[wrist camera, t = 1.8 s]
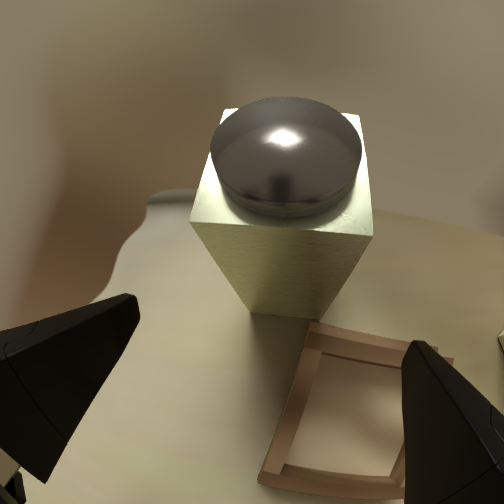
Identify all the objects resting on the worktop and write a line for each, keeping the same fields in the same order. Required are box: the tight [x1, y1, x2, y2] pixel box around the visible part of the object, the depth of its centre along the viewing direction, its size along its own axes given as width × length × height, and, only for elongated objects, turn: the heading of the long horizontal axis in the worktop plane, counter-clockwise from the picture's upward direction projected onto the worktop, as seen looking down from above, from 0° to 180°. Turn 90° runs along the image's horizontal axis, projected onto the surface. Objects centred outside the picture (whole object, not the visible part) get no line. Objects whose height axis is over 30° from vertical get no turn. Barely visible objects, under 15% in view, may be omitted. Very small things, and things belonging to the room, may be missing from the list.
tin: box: [189, 97, 373, 320], centre depth 14 cm, size 5×5×14 cm
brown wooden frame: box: [257, 321, 454, 500], centre depth 14 cm, size 12×10×4 cm
